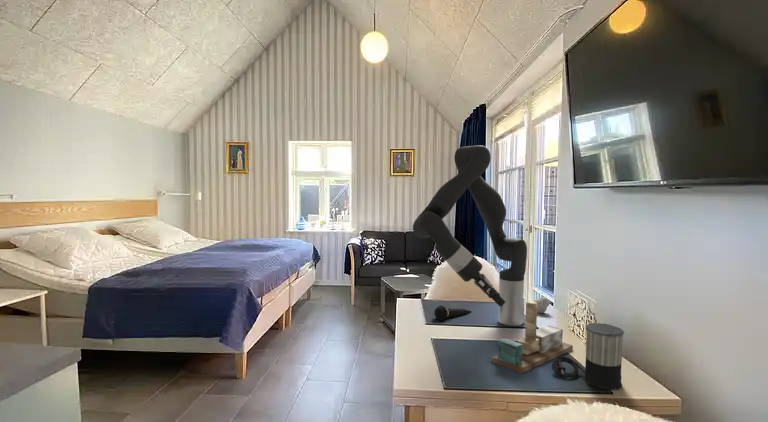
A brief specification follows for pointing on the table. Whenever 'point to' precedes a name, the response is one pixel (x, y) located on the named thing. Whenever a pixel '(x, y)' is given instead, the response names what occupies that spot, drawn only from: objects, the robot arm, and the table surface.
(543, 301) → the frog figurine
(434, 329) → the table surface
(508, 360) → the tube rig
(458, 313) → the microphone
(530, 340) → the cream l-shaped piece
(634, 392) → the table surface
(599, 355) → the milk frother
